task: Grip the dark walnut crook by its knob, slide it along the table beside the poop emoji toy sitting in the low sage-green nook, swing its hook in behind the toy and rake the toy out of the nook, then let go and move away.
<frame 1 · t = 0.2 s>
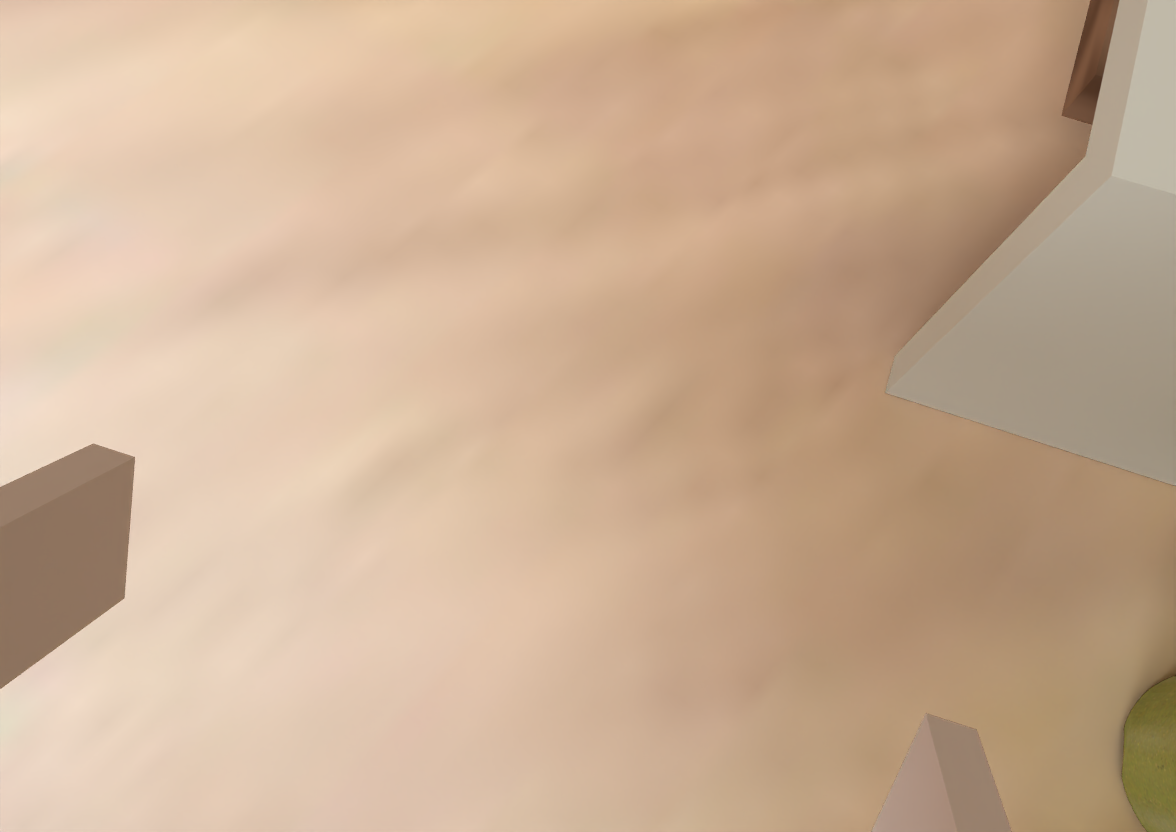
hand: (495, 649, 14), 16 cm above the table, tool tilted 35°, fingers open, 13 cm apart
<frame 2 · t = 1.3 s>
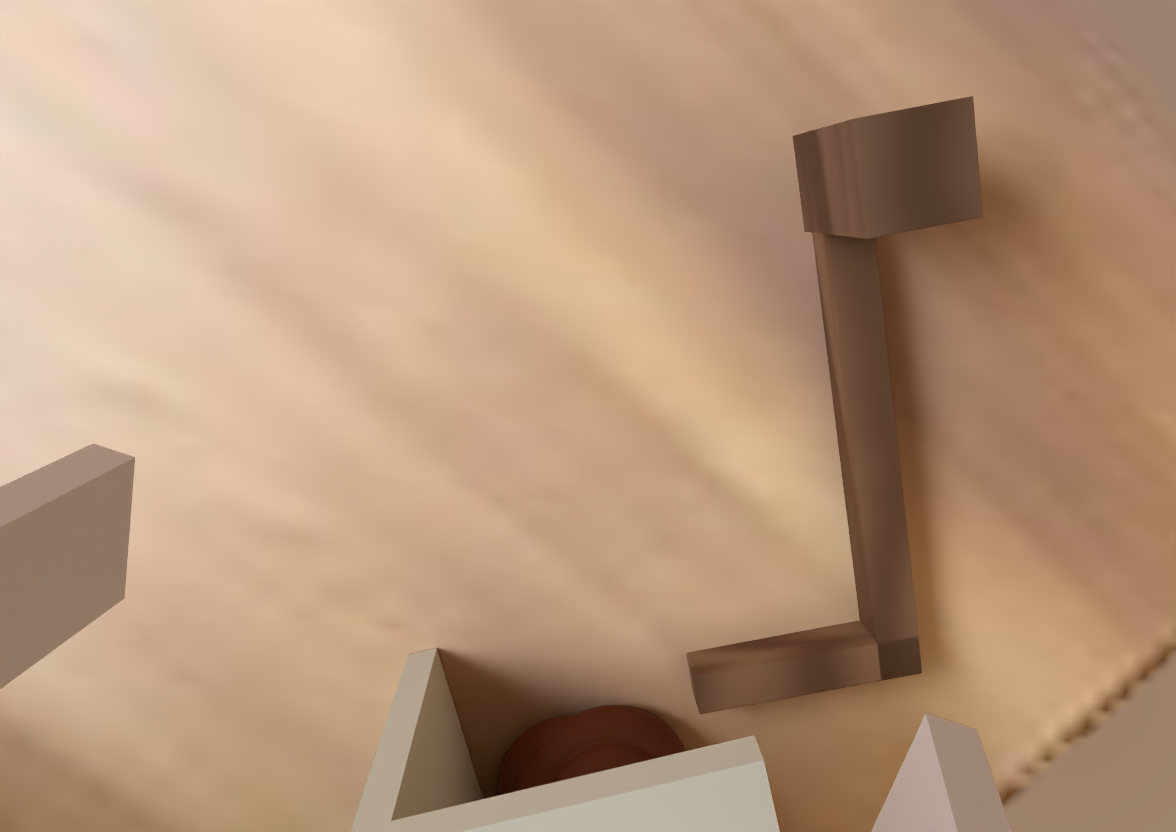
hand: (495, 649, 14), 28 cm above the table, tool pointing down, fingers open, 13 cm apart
nook: (598, 789, 47), on the table
poop emoji toy: (593, 768, 47), on the table
crook: (855, 410, 43), on the table
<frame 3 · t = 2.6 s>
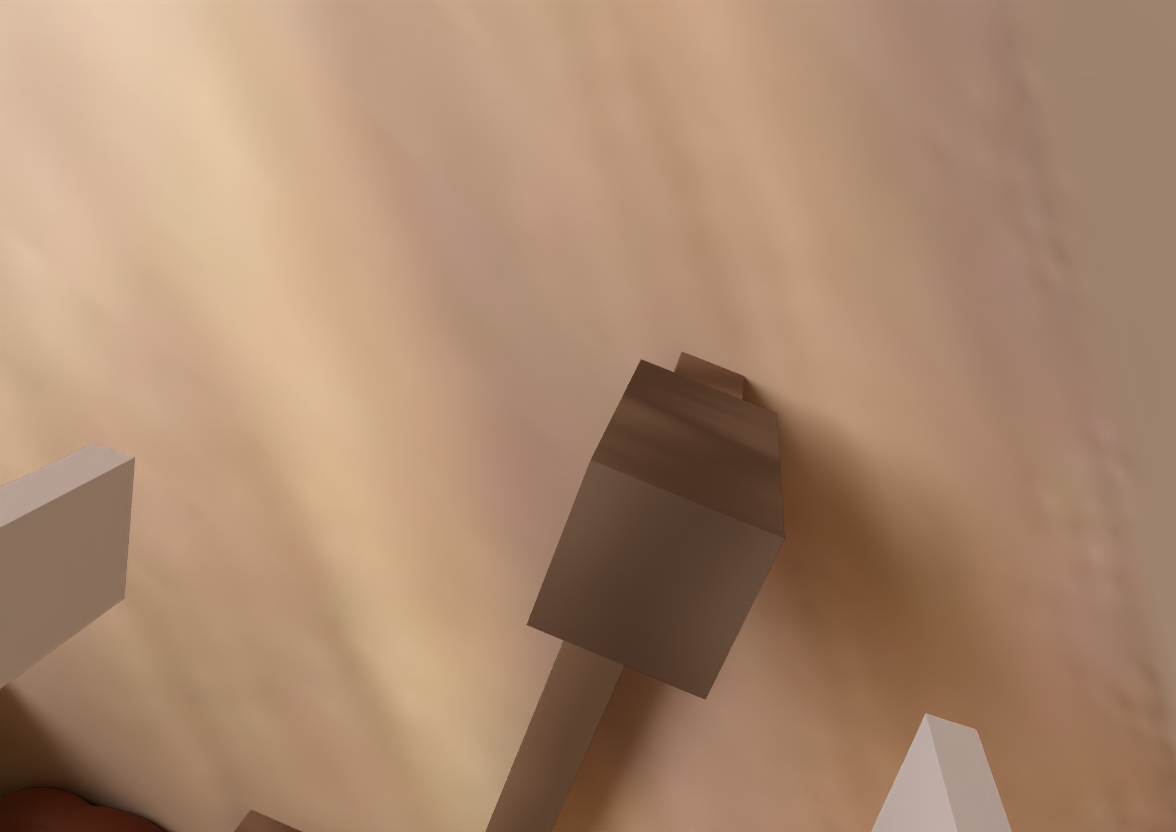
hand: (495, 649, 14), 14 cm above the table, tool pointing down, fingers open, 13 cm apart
crook: (572, 695, 32), on the table
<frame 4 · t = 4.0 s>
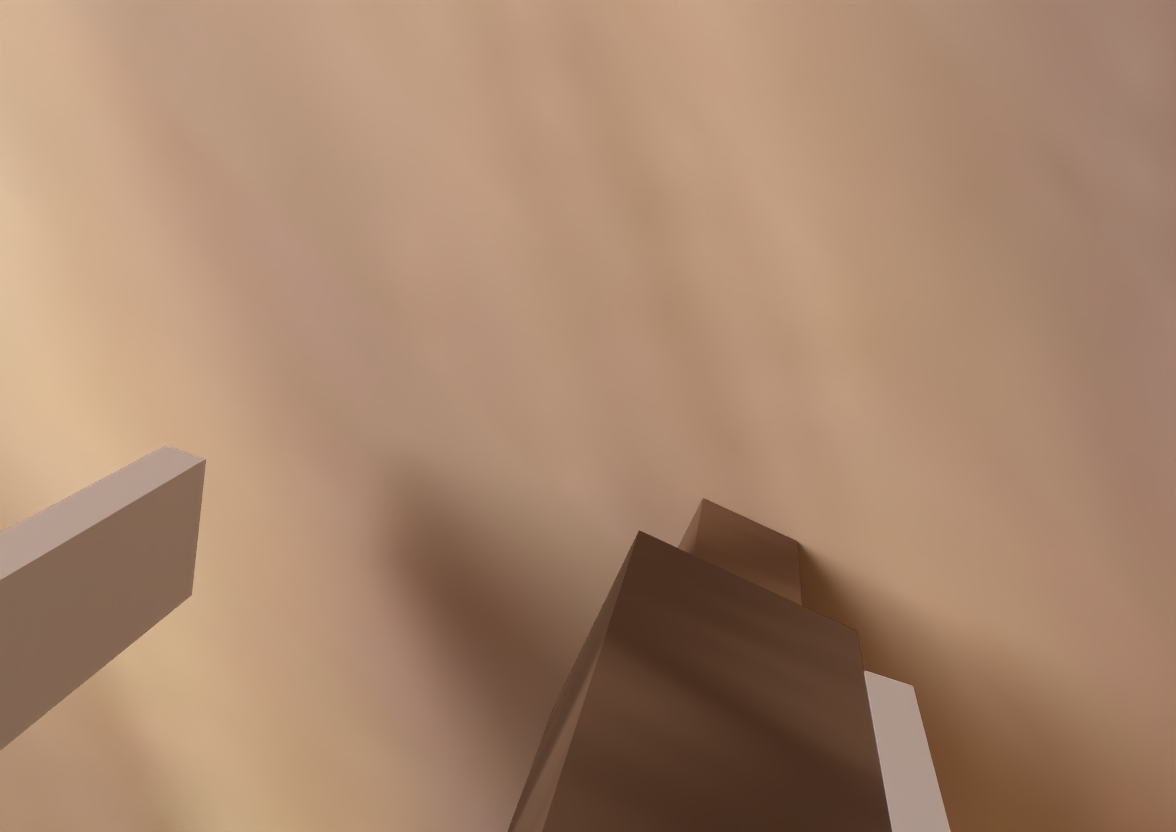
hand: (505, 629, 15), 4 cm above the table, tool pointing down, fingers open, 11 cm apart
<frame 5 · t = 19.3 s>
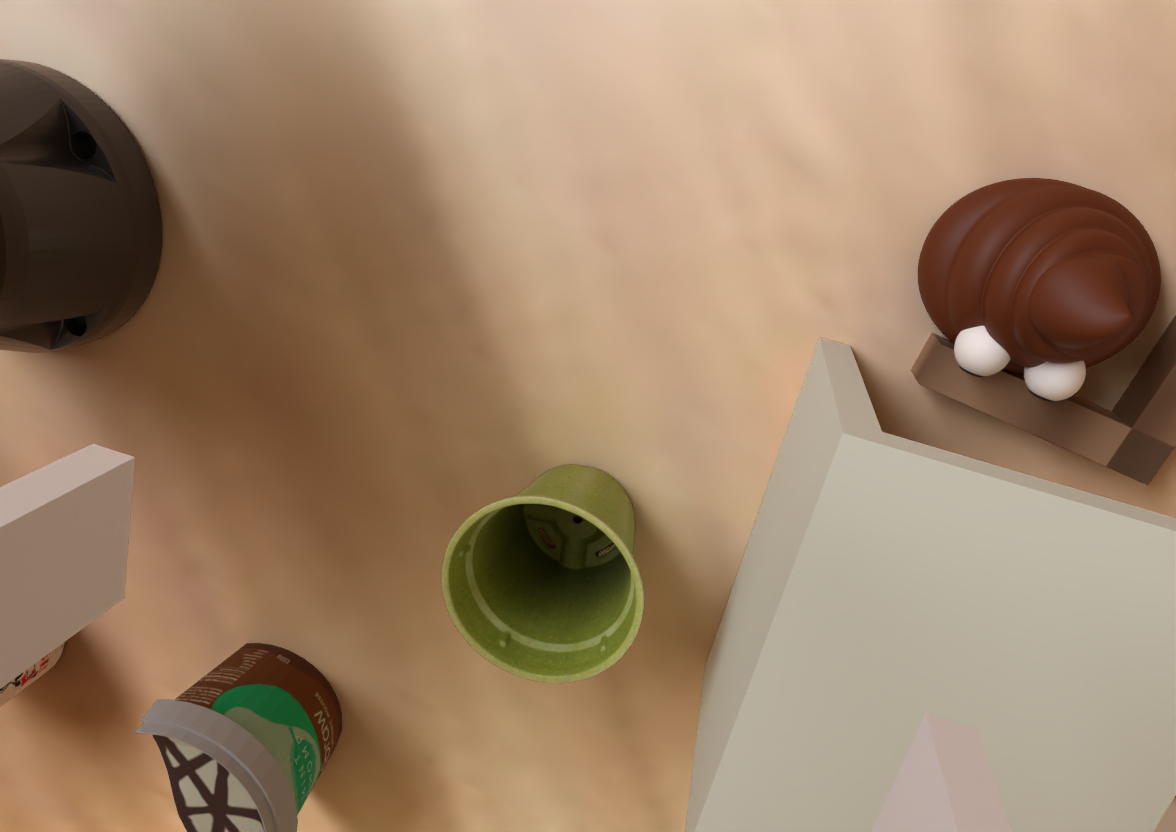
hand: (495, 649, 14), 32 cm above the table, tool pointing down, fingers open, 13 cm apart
teacup with lid: (1, 595, 58), on the table
food container: (313, 703, 56), on the table
plant pot: (579, 514, 49), on the table
nook: (899, 561, 46), on the table
poop emoji toy: (1024, 276, 41), on the table
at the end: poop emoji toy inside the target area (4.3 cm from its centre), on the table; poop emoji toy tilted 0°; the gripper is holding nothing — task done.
